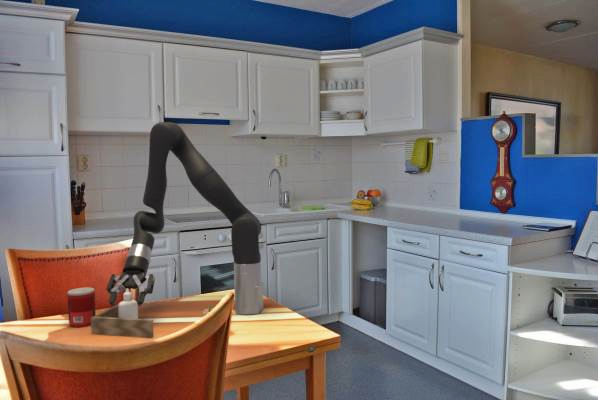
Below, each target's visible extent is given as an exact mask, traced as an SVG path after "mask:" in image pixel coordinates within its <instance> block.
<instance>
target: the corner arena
mask: <svg viewBox="0 0 598 400" xmlns="http://www.w3.org/2000/svg"><path fill="white" fill-rule="evenodd" d="M90 326H91V327H90V329H91V330H90V331H91V334H92V335H102V336H104V335H105V336H106V335H107V336H121V337H131V338H132V337H134V338H137V337H138V338H148V339H151V338H153V337H154V319H146V318H144V319H142V318H138V319H129V318H119V315H118V304H116V305H114V306H111V307H110V308H108V309H105V310H104V311H102V312H100V313H97V314H96V315H95V316H93V317H91V325H90Z"/></svg>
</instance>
